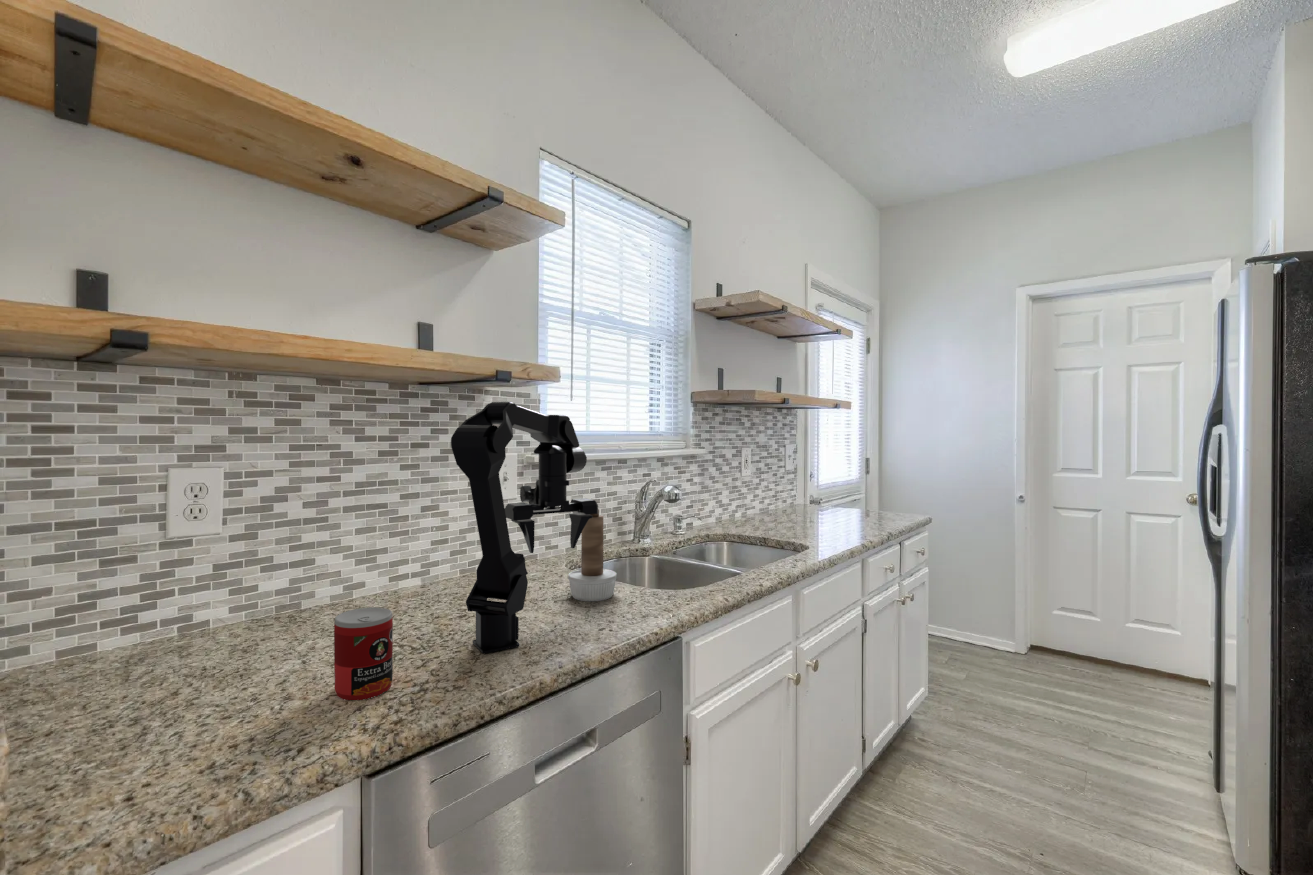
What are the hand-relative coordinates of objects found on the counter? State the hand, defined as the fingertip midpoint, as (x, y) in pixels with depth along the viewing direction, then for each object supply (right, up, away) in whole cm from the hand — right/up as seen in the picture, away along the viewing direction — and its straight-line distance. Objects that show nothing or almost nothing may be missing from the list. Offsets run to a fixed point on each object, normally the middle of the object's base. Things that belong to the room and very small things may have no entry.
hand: (552, 550), depth 124 cm
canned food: (-21, -14, -37) cm, 44 cm away
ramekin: (+7, -13, +13) cm, 20 cm away
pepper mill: (+7, -8, +13) cm, 17 cm away
